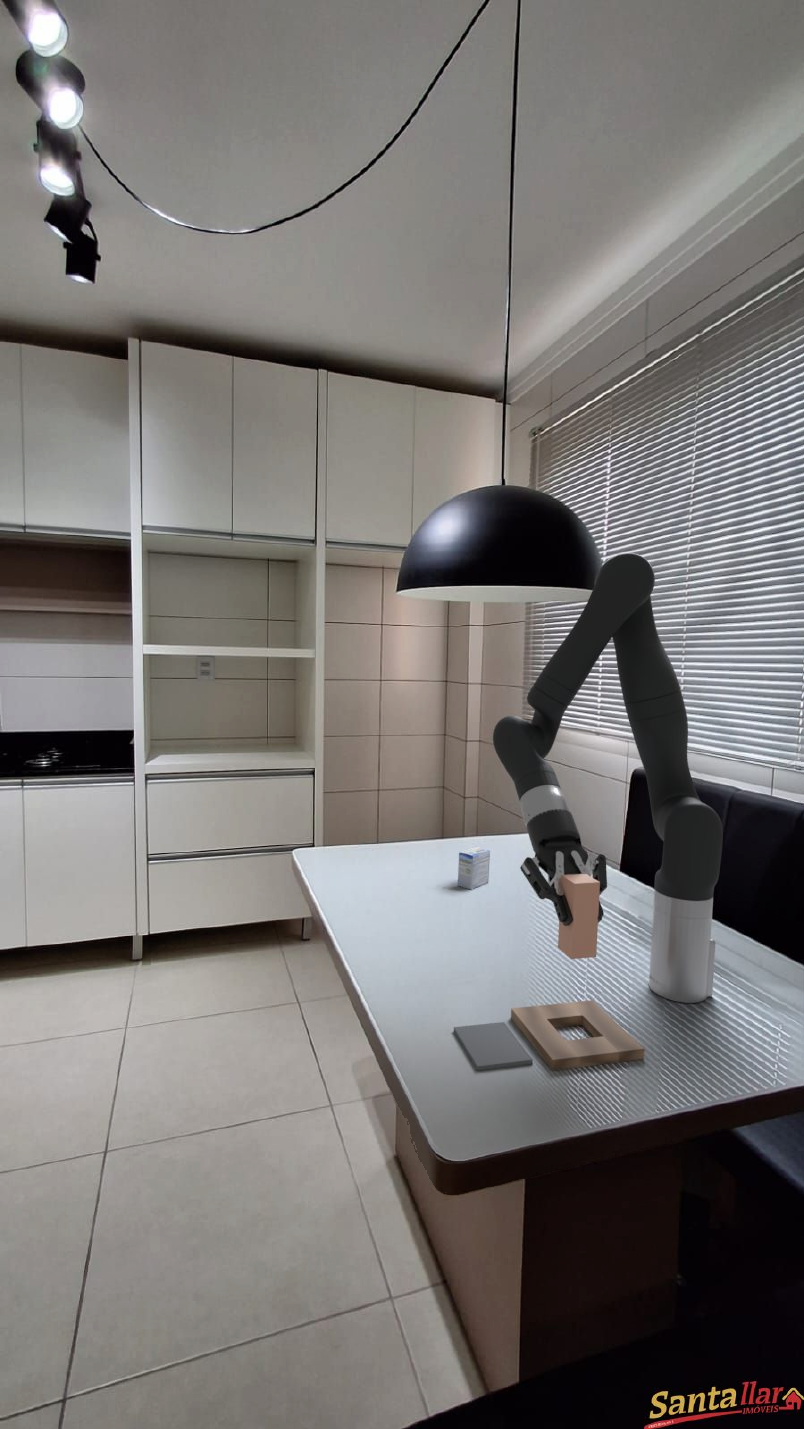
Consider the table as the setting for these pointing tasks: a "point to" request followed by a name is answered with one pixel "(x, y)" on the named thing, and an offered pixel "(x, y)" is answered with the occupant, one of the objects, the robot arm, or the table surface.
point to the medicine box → (473, 867)
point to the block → (580, 916)
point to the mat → (492, 1046)
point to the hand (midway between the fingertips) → (583, 922)
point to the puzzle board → (562, 1054)
